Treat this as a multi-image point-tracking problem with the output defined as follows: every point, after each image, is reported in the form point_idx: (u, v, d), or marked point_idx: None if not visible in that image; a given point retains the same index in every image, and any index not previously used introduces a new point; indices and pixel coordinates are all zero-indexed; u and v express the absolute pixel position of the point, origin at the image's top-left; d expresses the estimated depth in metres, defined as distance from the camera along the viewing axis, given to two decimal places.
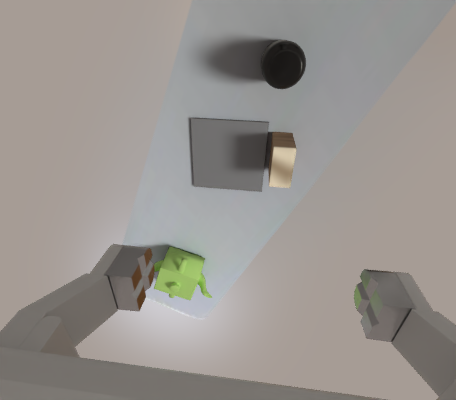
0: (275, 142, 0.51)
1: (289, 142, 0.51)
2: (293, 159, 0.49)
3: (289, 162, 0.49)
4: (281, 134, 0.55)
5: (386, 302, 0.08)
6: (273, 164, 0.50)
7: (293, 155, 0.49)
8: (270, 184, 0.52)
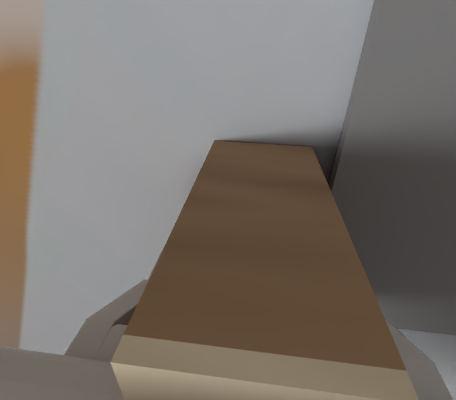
0: None
1: None
2: None
3: None
4: None
5: None
6: None
7: None
8: None
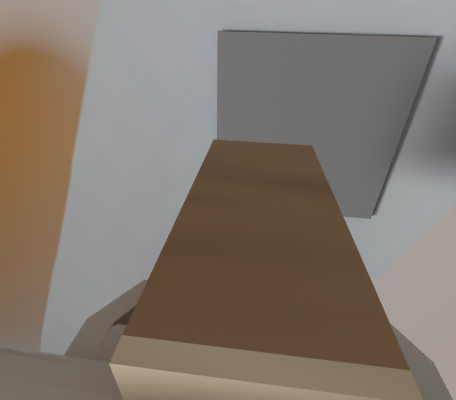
0: None
1: None
2: None
3: None
4: None
5: None
6: None
7: None
8: None
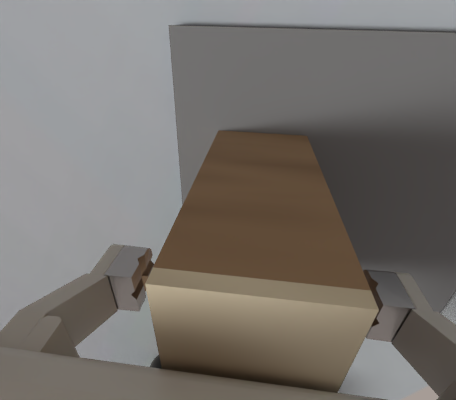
0: None
1: None
2: None
3: None
4: None
5: (386, 302, 0.08)
6: None
7: None
8: (357, 325, 0.05)
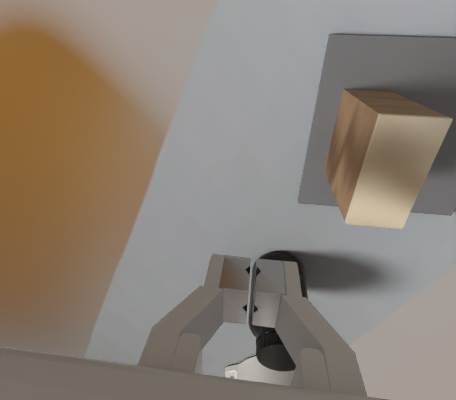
0: None
1: None
2: (357, 200, 0.19)
3: (368, 193, 0.19)
4: None
5: (260, 288, 0.09)
6: (415, 188, 0.18)
7: (355, 209, 0.19)
8: (445, 126, 0.16)
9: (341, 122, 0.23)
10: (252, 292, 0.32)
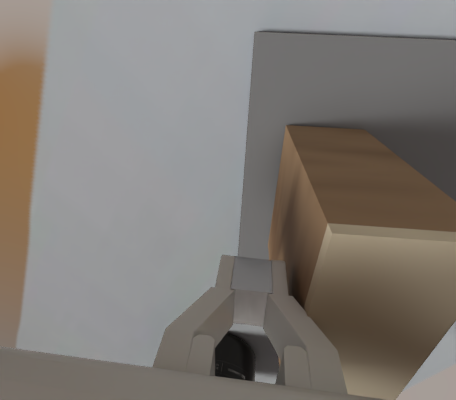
0: None
1: None
2: None
3: None
4: None
5: (247, 287, 0.09)
6: (414, 358, 0.09)
7: None
8: None
9: (283, 183, 0.14)
10: None
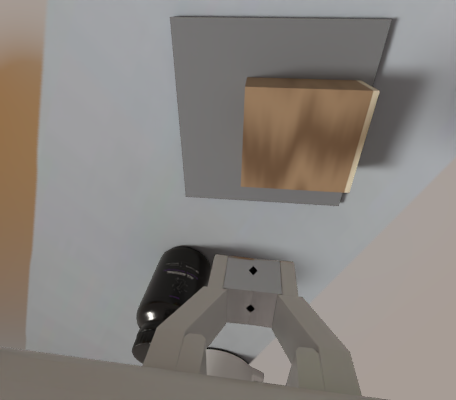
0: None
1: None
2: None
3: None
4: None
5: (256, 288, 0.09)
6: None
7: None
8: None
9: (269, 122, 0.20)
10: None
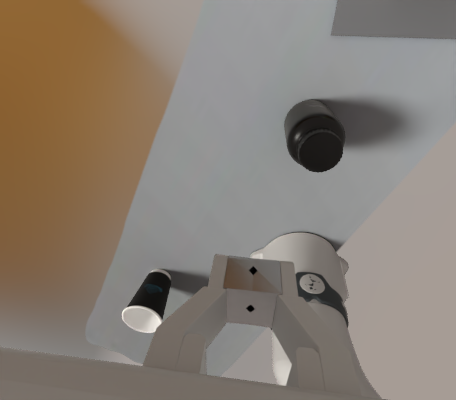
0: None
1: None
2: None
3: None
4: None
5: (256, 288, 0.09)
6: None
7: None
8: None
9: None
10: (288, 123, 0.35)
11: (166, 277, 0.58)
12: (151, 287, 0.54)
